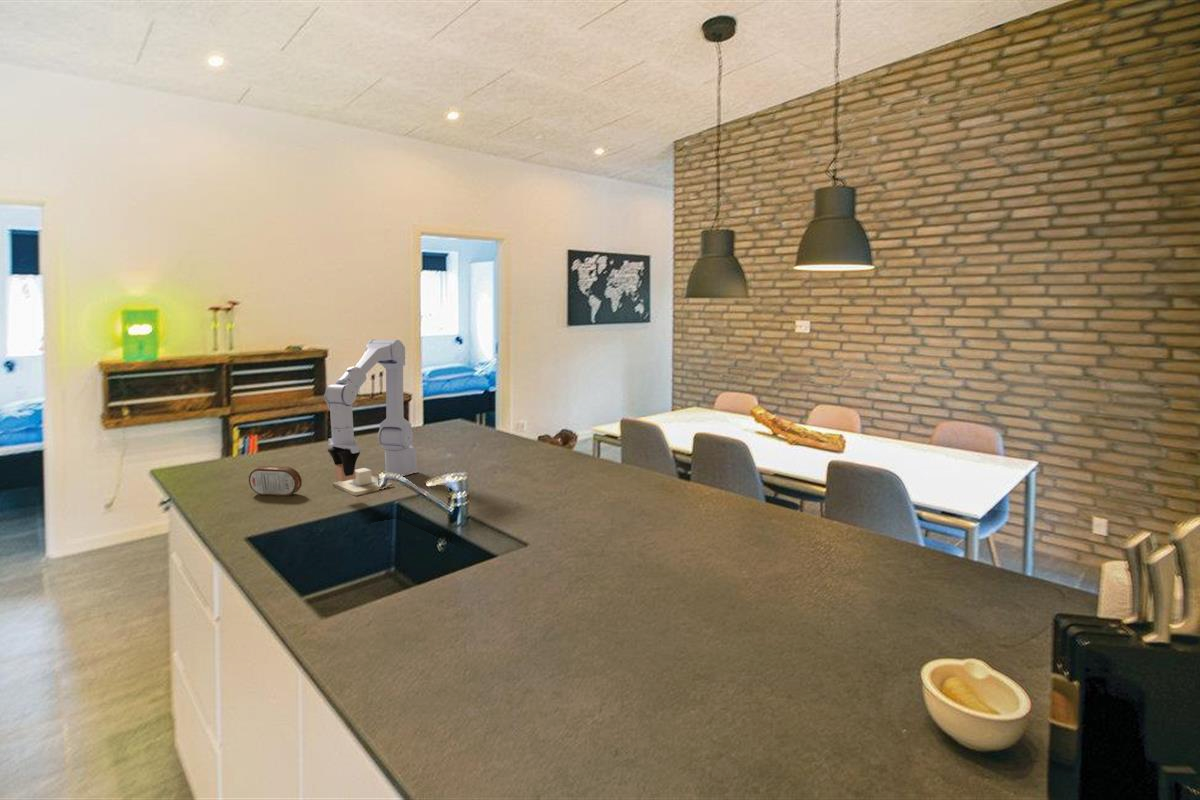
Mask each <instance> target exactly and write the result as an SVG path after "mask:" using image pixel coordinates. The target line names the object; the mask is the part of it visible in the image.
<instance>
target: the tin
mask: <svg viewBox="0 0 1200 800" xmlns="http://www.w3.org/2000/svg"><path fill="white" fill-rule="evenodd" d="M302 480H303V479H302V477H301V475H300V473H299V472H298V470H296V469H294V468H293V467H290V466H280V465H279V466H277V465H276V466H275V465H261V466H258V467H256V468H255V469H253V470H252V471H250V473H249V475H248V484H249V487H250V488H251V490H252V491H253V492H254V493H256V494H257V495H261V496H273V495H274V497H276V496H277V497H289V496H292V495H294V494H296V493H297V492H299V491H300V489H301V488H302V486H303V485H302V484H303V481H302Z"/></svg>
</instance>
